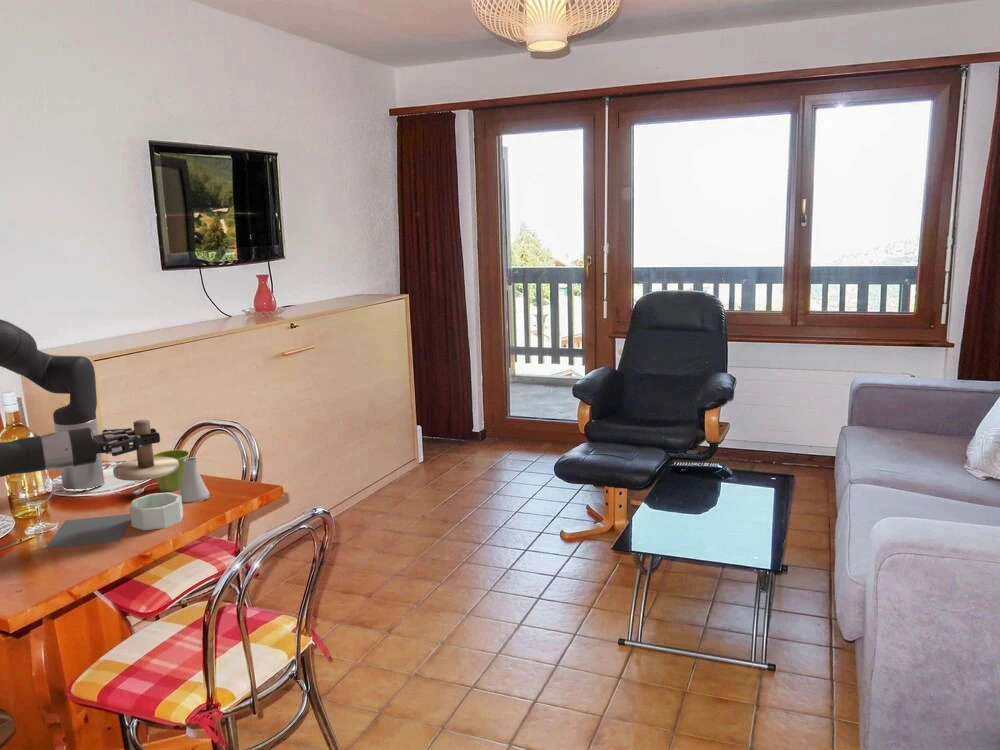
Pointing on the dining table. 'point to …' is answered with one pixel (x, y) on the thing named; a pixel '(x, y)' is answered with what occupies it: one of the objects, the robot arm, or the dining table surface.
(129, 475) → the lid
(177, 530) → the dining table surface
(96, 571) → the dining table surface
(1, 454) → the robot arm
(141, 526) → the bowl
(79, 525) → the mat
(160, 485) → the plant pot
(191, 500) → the flask
